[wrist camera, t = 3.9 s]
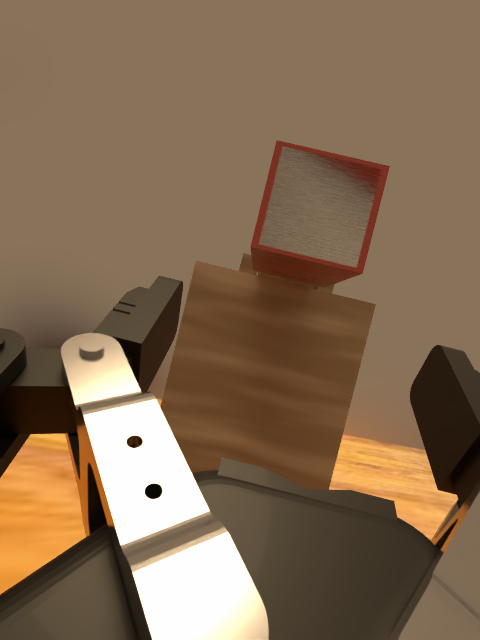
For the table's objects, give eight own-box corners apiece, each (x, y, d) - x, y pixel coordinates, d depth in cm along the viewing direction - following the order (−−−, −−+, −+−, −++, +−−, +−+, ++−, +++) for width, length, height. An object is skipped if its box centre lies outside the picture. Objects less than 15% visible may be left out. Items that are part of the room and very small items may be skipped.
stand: (272, 791, 26) (401, 289, 25) (63, 733, 26) (182, 236, 25) (264, 608, 42) (343, 297, 41) (134, 574, 42) (209, 265, 41)
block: (362, 273, 14) (425, 26, 14) (250, 246, 14) (310, 2, 14) (286, 301, 50) (303, 233, 50) (254, 293, 50) (271, 225, 50)
